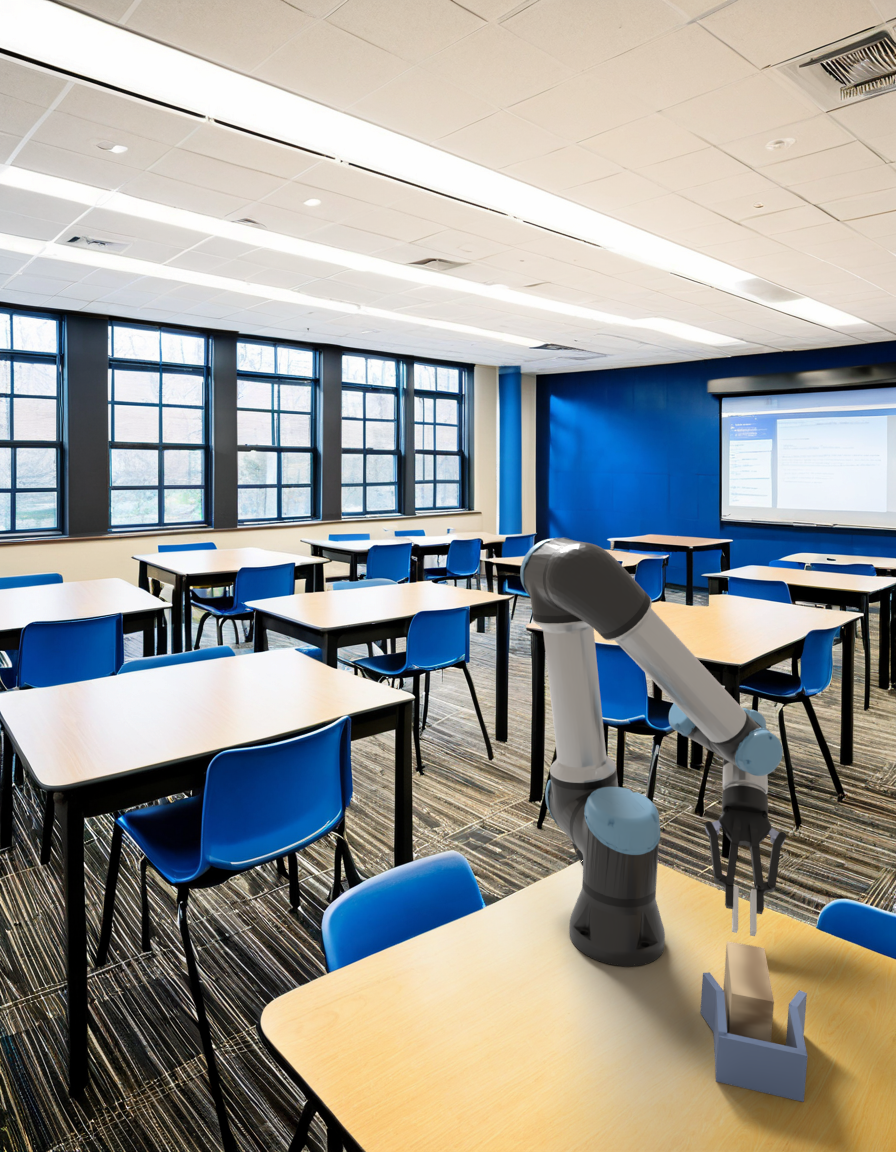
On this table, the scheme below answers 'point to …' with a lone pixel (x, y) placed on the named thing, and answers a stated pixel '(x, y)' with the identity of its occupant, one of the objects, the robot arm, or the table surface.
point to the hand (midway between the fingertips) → (744, 931)
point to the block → (748, 992)
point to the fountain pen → (578, 852)
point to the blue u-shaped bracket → (757, 1049)
